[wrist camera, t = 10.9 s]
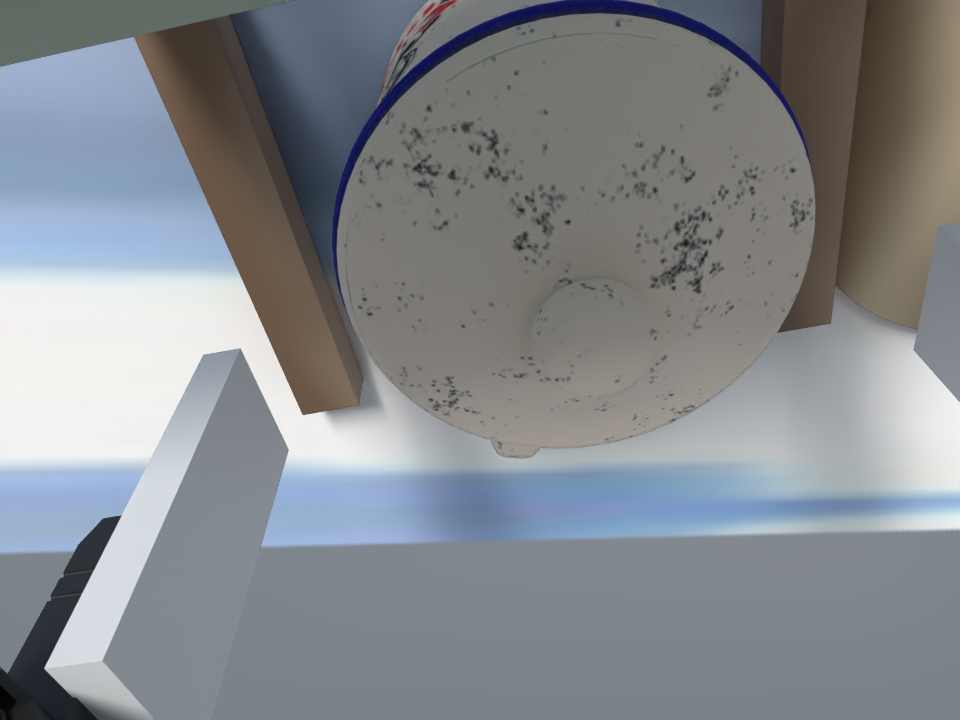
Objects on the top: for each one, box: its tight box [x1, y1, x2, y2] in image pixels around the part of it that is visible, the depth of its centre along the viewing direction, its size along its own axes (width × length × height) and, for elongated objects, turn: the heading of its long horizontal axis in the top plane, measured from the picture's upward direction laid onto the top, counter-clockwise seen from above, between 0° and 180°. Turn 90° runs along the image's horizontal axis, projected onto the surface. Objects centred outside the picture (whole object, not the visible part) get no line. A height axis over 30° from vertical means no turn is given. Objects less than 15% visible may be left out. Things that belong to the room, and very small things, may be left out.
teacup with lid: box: [332, 0, 815, 458], centre depth 17 cm, size 12×9×12 cm
